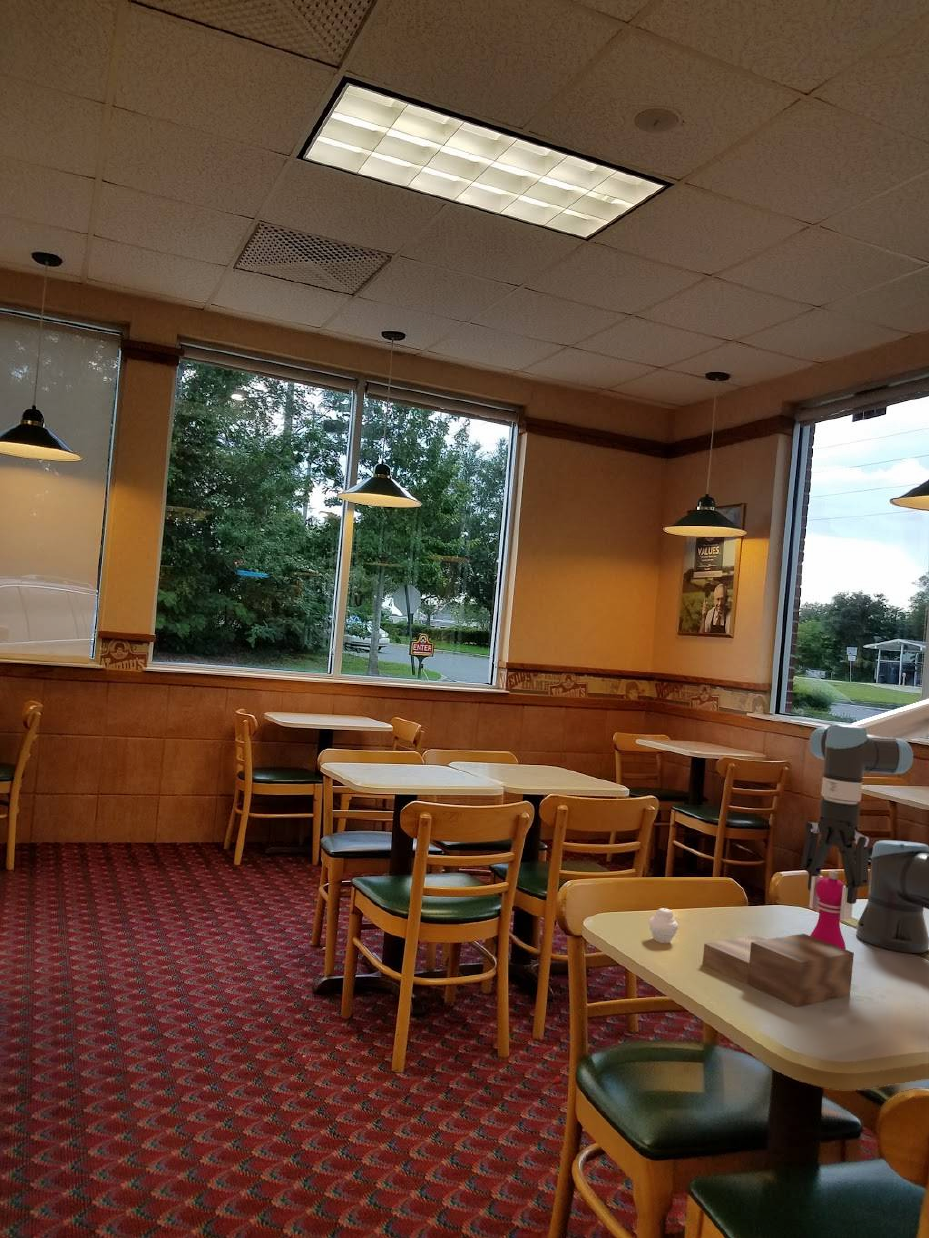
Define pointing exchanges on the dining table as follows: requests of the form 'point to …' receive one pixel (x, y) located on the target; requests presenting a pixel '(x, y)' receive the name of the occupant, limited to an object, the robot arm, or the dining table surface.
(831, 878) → the pepper mill
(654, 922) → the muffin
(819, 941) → the step stand
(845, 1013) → the dining table surface
